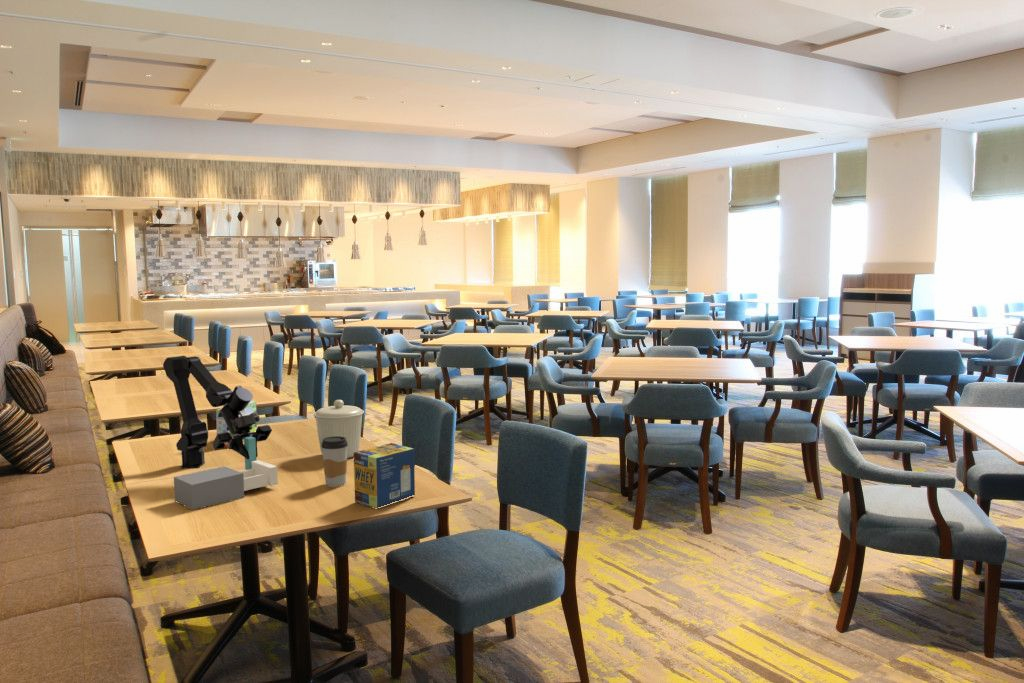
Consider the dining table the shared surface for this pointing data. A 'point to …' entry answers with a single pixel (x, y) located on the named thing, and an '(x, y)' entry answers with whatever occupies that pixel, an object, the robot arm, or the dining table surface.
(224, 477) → the carton sleeve
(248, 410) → the snack box
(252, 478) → the teal white angled piece
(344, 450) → the coffee cup
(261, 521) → the dining table surface
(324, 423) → the canister
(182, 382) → the robot arm
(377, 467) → the protein box
